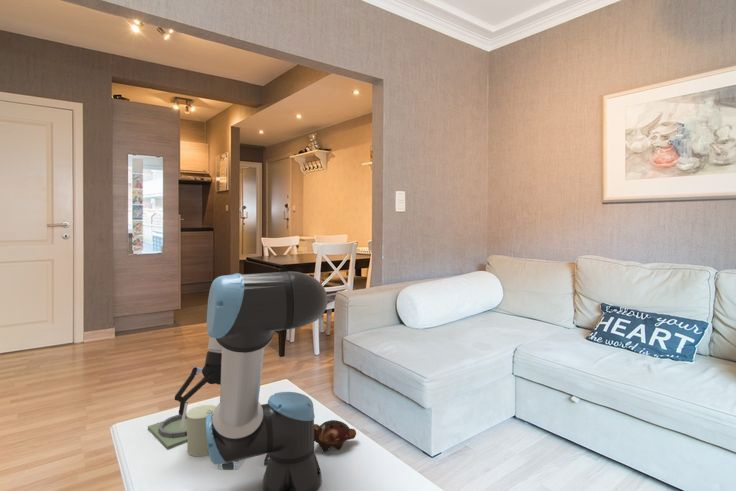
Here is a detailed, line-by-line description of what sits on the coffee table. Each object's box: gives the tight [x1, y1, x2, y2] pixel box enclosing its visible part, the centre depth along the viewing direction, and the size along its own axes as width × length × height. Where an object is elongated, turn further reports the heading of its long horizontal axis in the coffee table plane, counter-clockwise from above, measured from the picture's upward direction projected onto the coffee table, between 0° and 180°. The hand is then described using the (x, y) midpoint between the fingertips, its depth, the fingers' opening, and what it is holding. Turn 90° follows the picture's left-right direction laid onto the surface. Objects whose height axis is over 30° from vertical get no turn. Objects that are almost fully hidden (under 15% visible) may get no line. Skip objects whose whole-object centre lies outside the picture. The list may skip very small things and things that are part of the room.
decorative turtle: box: [314, 419, 357, 453], centre depth 124 cm, size 10×15×8 cm, turn 115°
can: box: [186, 404, 217, 457], centre depth 123 cm, size 9×9×12 cm
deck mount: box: [147, 412, 187, 450], centre depth 134 cm, size 18×16×2 cm
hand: (207, 427), depth 115 cm, fingers open, 13 cm apart
